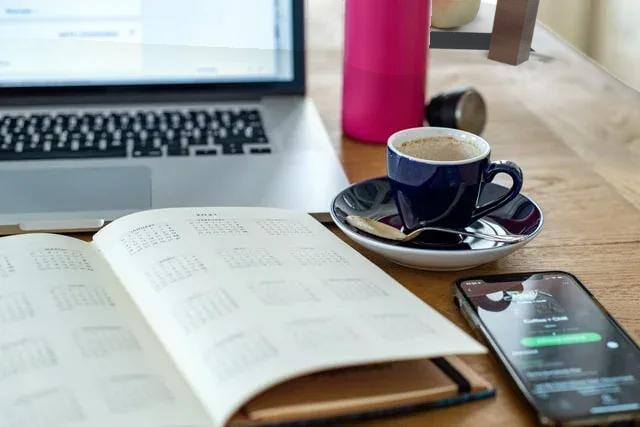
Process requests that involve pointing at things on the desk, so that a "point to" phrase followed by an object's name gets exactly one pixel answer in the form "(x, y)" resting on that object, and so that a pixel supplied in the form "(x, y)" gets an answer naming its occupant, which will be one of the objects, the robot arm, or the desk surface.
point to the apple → (453, 12)
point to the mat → (460, 40)
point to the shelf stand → (513, 31)
